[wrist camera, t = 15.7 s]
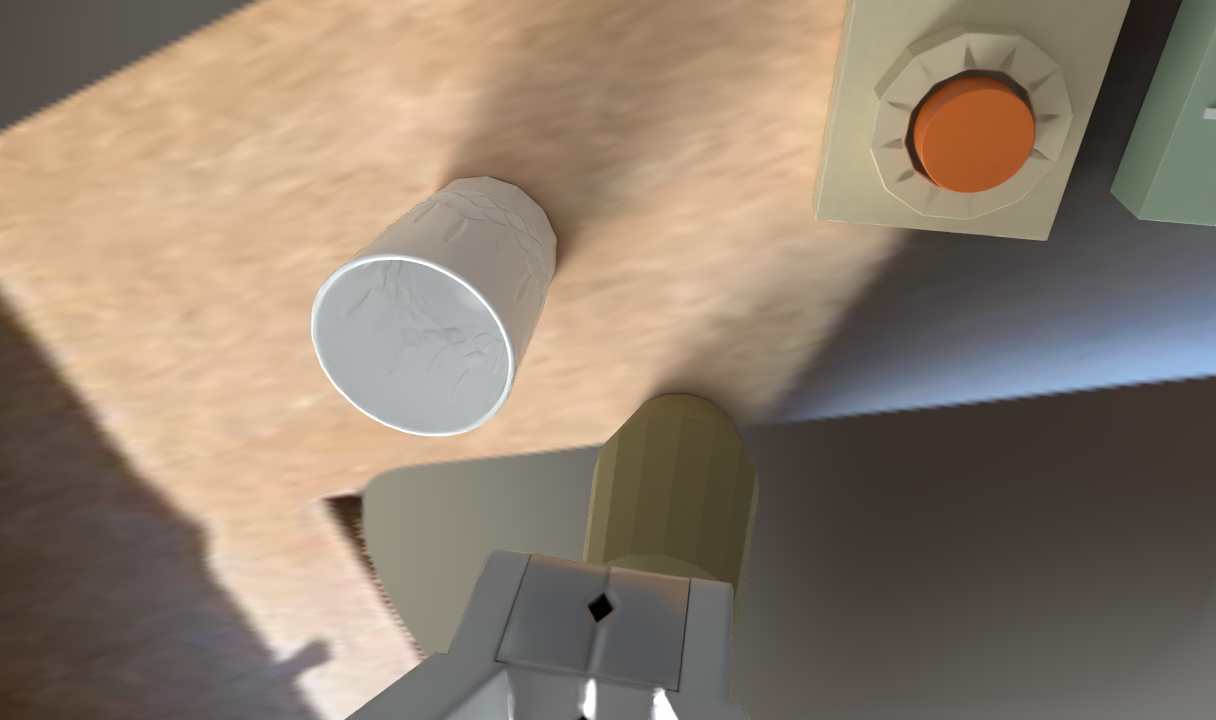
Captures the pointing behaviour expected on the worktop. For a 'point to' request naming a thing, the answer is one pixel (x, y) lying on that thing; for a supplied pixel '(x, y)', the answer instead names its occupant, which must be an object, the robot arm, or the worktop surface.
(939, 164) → the power button
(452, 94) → the worktop surface
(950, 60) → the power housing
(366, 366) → the white cup
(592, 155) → the worktop surface
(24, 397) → the worktop surface
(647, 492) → the squeeze bottle
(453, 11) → the worktop surface
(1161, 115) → the dial panel
